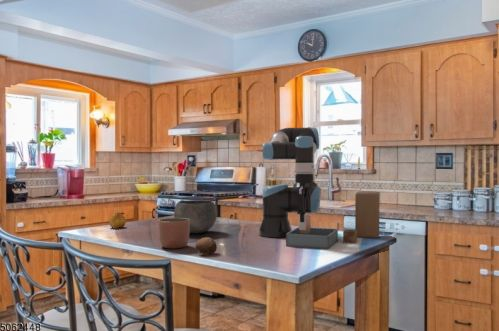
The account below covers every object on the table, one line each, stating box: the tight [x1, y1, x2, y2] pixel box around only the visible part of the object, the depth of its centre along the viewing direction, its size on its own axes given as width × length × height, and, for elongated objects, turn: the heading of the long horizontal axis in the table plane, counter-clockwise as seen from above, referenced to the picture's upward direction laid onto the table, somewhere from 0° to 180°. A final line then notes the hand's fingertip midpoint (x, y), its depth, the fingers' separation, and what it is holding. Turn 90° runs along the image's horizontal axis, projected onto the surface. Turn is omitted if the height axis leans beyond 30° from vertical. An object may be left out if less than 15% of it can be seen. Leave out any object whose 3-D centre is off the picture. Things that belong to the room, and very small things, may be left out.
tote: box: [285, 226, 339, 250], centre depth 185 cm, size 17×19×5 cm
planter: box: [158, 217, 190, 250], centre depth 179 cm, size 12×12×11 cm
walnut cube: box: [342, 228, 358, 244], centre depth 188 cm, size 5×5×5 cm
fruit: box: [108, 212, 127, 229], centre depth 231 cm, size 8×8×8 cm
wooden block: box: [354, 190, 380, 239], centre depth 202 cm, size 10×10×20 cm
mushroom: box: [195, 236, 218, 256], centre depth 166 cm, size 8×8×6 cm
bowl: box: [173, 199, 218, 234], centre depth 213 cm, size 20×20×15 cm
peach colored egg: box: [299, 214, 312, 234], centre depth 186 cm, size 5×5×7 cm
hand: (304, 228), depth 186 cm, fingers closed on peach colored egg, 5 cm apart
